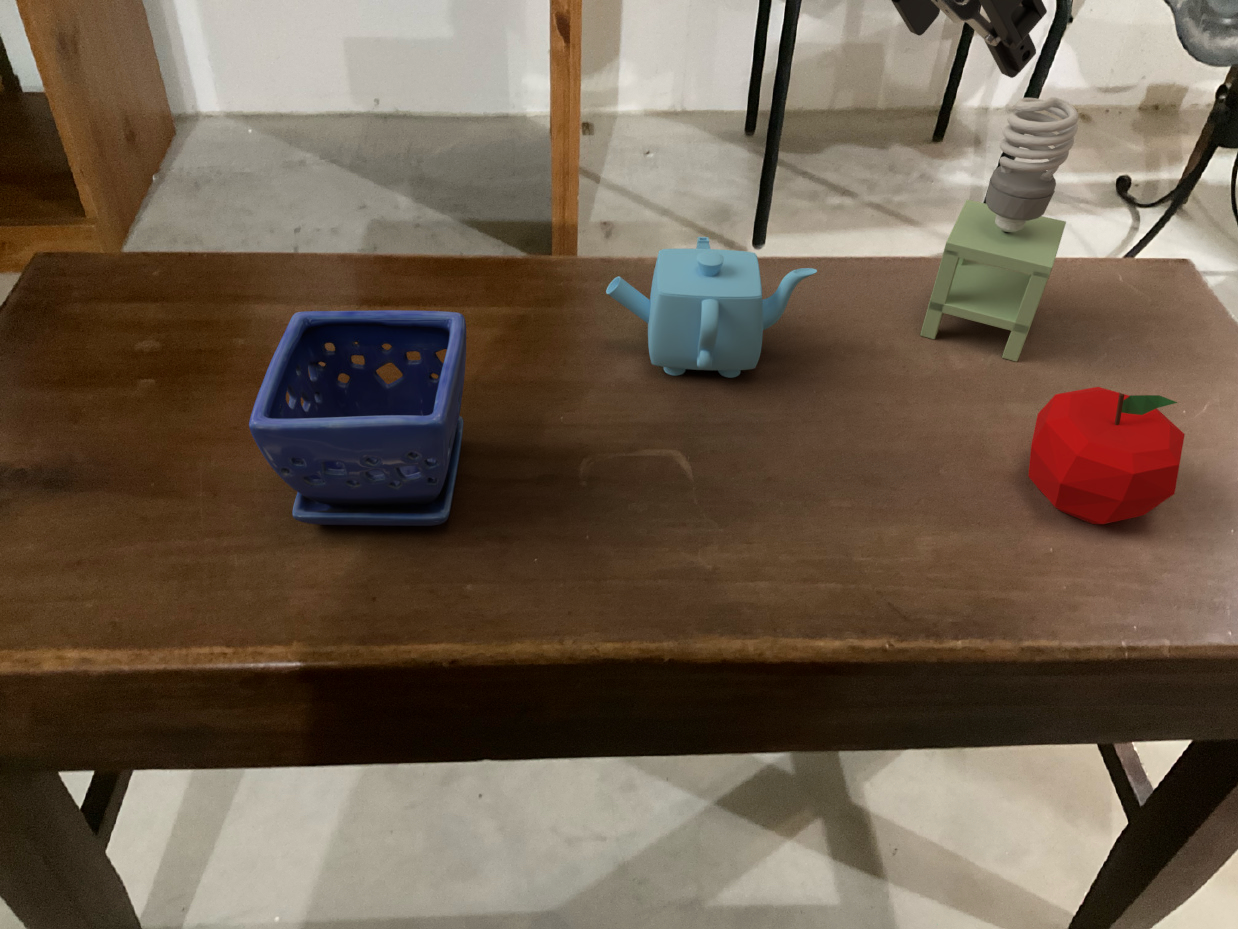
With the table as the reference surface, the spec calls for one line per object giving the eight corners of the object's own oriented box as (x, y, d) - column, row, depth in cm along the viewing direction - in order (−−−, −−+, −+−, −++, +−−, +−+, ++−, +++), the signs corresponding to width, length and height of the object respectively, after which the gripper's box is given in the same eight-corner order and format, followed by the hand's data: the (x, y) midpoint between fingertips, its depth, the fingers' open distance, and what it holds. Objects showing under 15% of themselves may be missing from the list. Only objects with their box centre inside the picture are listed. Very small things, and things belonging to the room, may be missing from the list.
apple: (1027, 536, 72) (1072, 435, 65) (1001, 443, 79) (1040, 344, 73) (1173, 550, 71) (1235, 449, 64) (1133, 454, 79) (1184, 356, 72)
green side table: (1032, 313, 94) (1066, 221, 87) (1017, 362, 88) (1052, 267, 81) (940, 290, 97) (966, 198, 90) (919, 335, 91) (946, 241, 84)
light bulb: (972, 242, 84) (1013, 106, 76) (974, 212, 88) (1014, 81, 80) (1039, 252, 83) (1088, 116, 75) (1039, 222, 87) (1085, 90, 78)
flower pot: (464, 546, 70) (447, 422, 62) (281, 547, 70) (240, 421, 61) (480, 428, 80) (467, 307, 71) (320, 428, 79) (289, 306, 71)
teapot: (602, 392, 83) (602, 293, 77) (609, 302, 94) (610, 208, 87) (808, 400, 83) (827, 301, 76) (793, 309, 93) (808, 215, 87)
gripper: (1019, -189, 45) (1101, 28, 57) (832, -230, 54) (936, -36, 66) (908, -52, 47) (1010, 131, 59) (745, -114, 56) (862, 55, 68)
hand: (971, 42), depth 63 cm, fingers open, 8 cm apart
